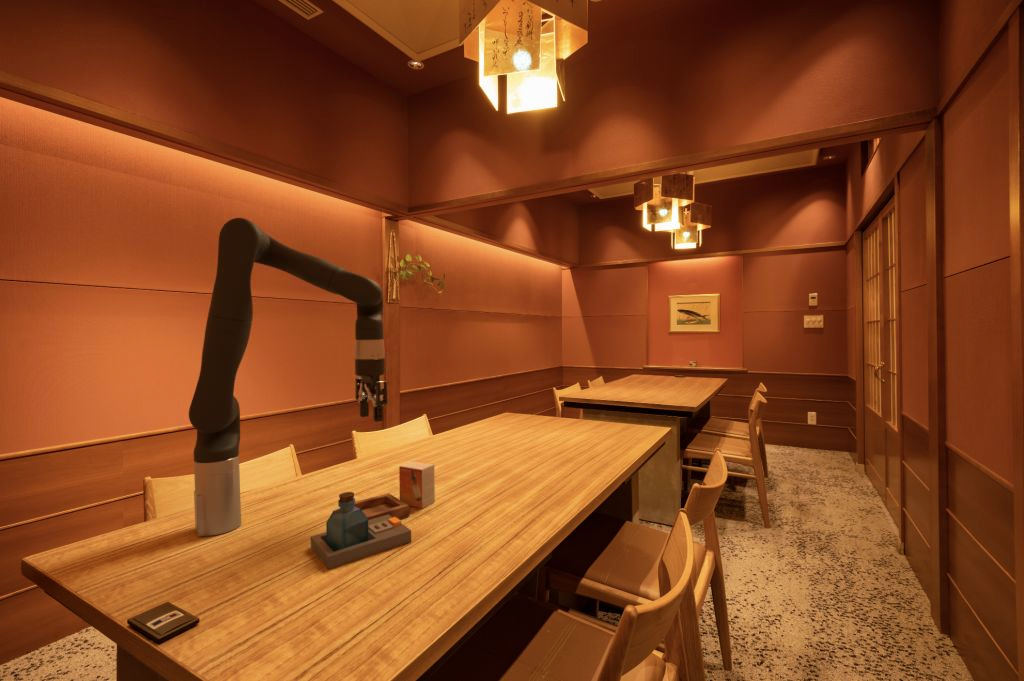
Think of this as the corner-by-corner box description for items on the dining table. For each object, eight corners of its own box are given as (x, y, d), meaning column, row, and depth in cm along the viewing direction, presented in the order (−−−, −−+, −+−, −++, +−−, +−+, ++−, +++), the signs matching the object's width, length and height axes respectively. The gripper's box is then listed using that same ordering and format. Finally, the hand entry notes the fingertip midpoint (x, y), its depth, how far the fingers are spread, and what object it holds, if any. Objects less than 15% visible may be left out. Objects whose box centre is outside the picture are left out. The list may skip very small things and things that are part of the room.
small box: (399, 504, 125) (398, 465, 125) (412, 497, 130) (411, 460, 130) (422, 509, 121) (421, 469, 121) (435, 501, 126) (434, 463, 126)
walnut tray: (362, 530, 109) (362, 518, 109) (345, 515, 118) (344, 504, 118) (409, 516, 117) (408, 505, 116) (389, 503, 126) (388, 493, 126)
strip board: (328, 569, 91) (328, 552, 91) (311, 547, 101) (310, 532, 100) (411, 541, 103) (410, 526, 103) (388, 524, 112) (388, 511, 112)
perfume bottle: (343, 559, 95) (341, 502, 95) (327, 550, 99) (325, 495, 99) (368, 547, 100) (367, 493, 100) (352, 540, 104) (350, 487, 104)
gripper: (345, 356, 123) (346, 417, 123) (367, 358, 112) (368, 425, 112) (372, 355, 128) (373, 413, 128) (395, 357, 117) (397, 420, 117)
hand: (371, 418), depth 120 cm, fingers open, 8 cm apart
